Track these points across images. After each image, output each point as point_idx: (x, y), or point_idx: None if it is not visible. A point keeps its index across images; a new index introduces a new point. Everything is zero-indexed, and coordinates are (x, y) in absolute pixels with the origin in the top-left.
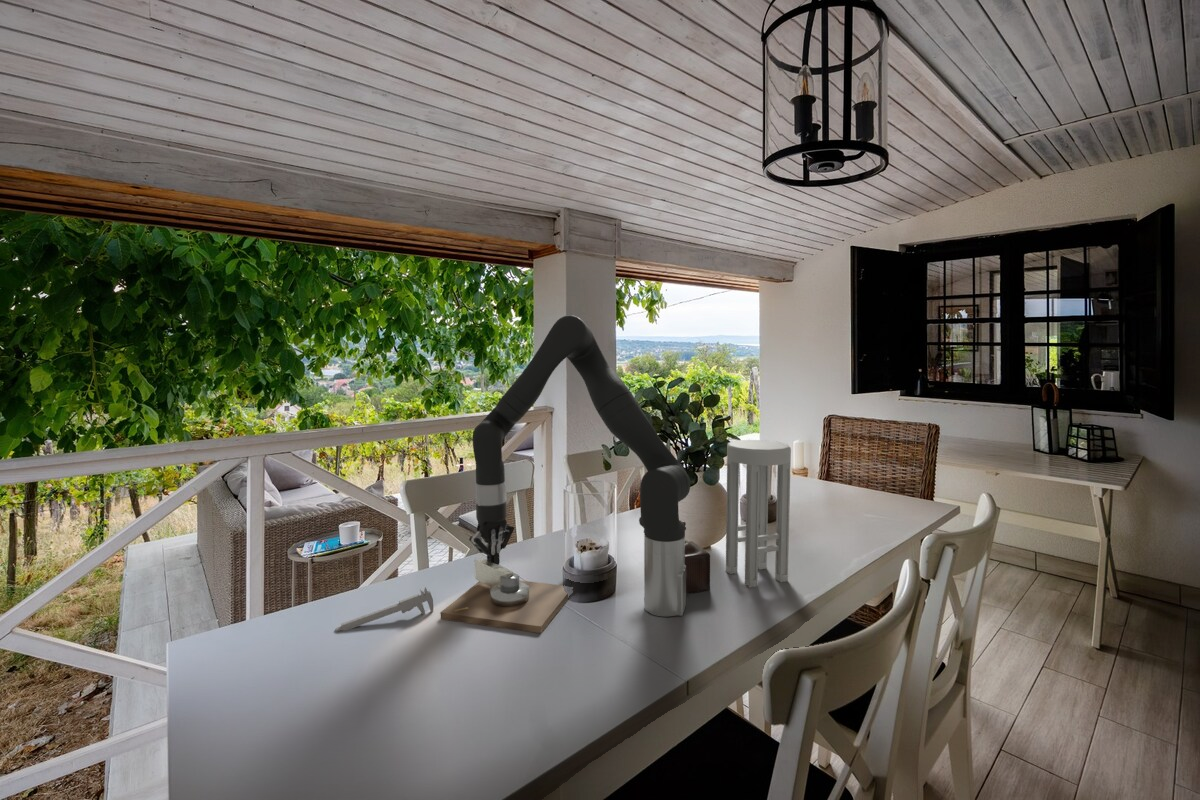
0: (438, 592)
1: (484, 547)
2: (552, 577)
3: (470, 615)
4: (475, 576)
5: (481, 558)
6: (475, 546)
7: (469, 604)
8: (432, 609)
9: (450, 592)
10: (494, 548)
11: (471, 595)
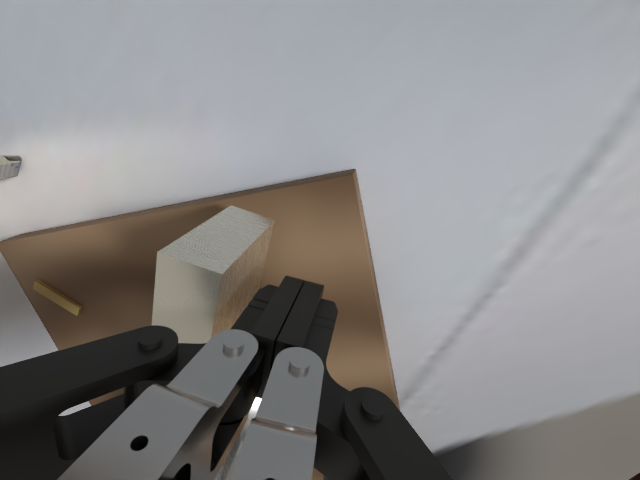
0: (131, 25)
1: (70, 457)
2: (535, 416)
3: (61, 343)
4: (221, 213)
5: (208, 283)
6: (4, 377)
7: (101, 297)
8: (5, 175)
9: (169, 89)
10: (224, 450)
11: (152, 257)
